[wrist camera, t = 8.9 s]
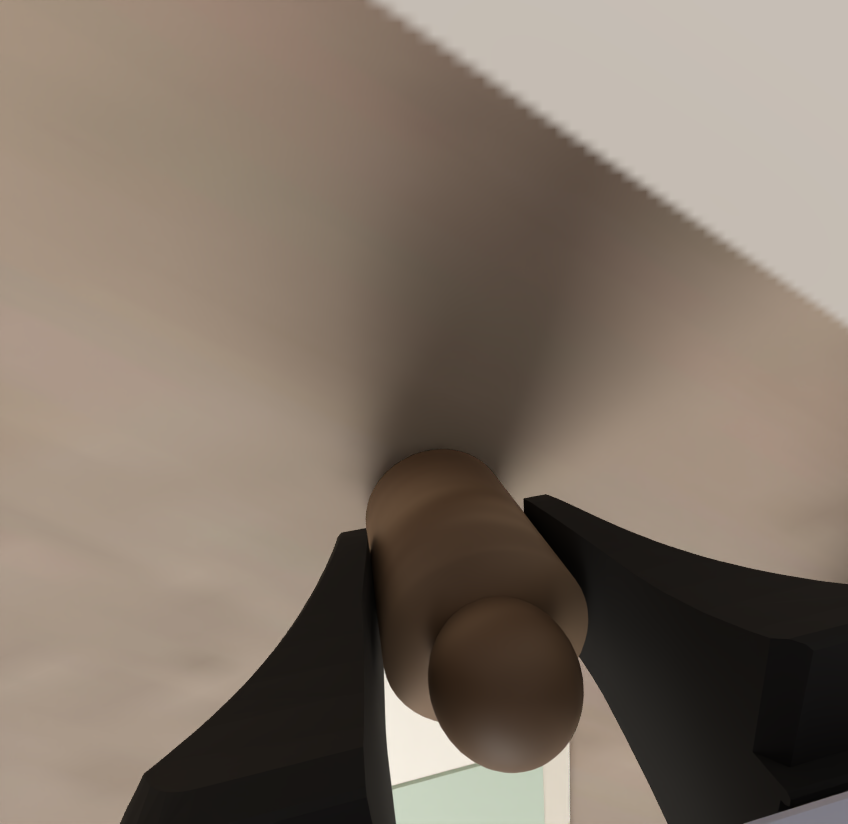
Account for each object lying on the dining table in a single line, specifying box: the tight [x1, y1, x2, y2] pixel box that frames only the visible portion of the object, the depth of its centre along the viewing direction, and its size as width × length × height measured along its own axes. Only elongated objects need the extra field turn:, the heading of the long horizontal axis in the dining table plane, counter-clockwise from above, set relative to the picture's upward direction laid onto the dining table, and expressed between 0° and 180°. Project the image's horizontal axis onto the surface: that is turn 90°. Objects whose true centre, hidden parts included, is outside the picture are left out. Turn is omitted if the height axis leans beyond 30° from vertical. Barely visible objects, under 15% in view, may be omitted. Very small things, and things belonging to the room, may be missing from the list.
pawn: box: [366, 449, 588, 773], centre depth 10 cm, size 4×4×7 cm
